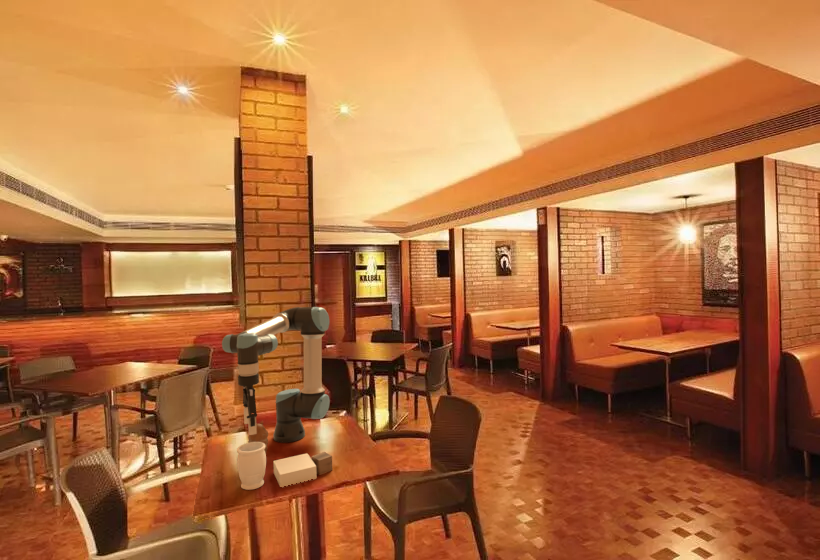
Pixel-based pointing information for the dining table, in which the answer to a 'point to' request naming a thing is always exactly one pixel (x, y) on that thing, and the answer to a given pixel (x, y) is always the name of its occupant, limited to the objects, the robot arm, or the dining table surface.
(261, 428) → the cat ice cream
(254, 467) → the jar
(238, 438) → the dining table surface
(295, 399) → the robot arm
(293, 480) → the cream block
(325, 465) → the walnut cube
